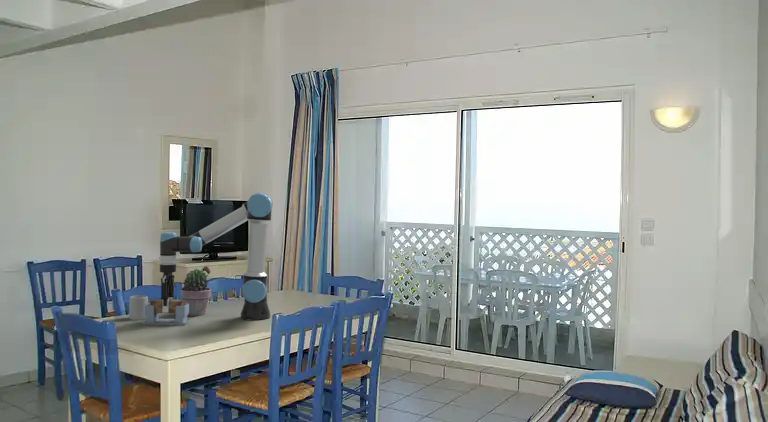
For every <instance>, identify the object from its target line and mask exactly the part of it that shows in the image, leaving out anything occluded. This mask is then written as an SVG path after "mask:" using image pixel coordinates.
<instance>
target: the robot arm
mask: <svg viewBox="0 0 768 422" xmlns="http://www.w3.org/2000/svg"><path fill="white" fill-rule="evenodd" d="M272 208H273V200H272V198H271V197H270V196H269V195H268V194H266V193H264V192H256V193H254V194H251V196H249V198H248V199H247V201H245V202H244V203H242V205H241V207H239V208H237V209H236V210H233V211H232V212H230V213H228V214H227V215H225V216H223V217H221V218H220V219H217V220H216V221H214V222H213V223H211V224H209V225H207V226H205V227H203V228H201V229H200V230H199V231H198V230H197V232H195V233H192V234H191V235H188V236H178V235H177V233H176V232H171V231H166V232H164V231H163V232H162V233H160V238H159V239H160V241H159V257H158V259H159V263H160V264H159V272H160V273H163V275H162V277H161V278H160V282H161V283H160V287H161V288H160V289H161V291H160V299H161V300H163V310H162V313H161V314H167V313H169V300H173V298H174V297H175V294H174V291H175V290H174V289H175V288H174V287H175V275H173V273H176V272H177V253H201V252H202V251H203V250H202V248H203V246H205V245H206V244H208V243H210V242H212V241H214V240H216V239H218V238H219V237H221V236H222V235H225V234H226V233H228V232H230V231H231V230H233V229H235V228H236V227H237V228H238V226H240V225H242V224H244V223H245V222H247V221H248V222H249V233H248V235H249V236H248V248H247V249H248V252H247V264H246V265H247V268H246V272H244V273H243V278H242V279H243V280H242V282H243V283H242V288H241V295H242V296H243V299H244V301H243V306H242V309H241V312H240V319H242V320H247V319H251V321H259V319H262V320H268V319H270V318H271V312H270V307H269V304H268V280H269V278H268V273H266V272H265V270H266V254H267V238H268V224H269V223H270V222H271V221H272ZM267 318H268V319H267Z"/></svg>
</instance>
